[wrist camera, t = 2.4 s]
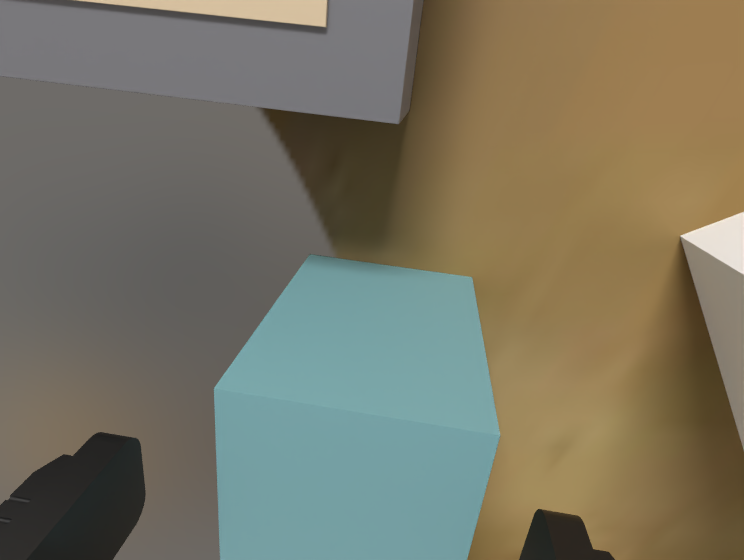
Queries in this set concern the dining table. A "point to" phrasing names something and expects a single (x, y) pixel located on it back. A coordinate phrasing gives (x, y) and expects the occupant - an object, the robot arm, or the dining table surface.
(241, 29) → the plinth
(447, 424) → the teal block
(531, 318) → the dining table surface
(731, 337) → the milk
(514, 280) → the dining table surface
